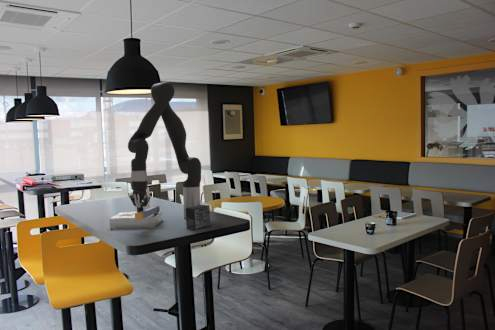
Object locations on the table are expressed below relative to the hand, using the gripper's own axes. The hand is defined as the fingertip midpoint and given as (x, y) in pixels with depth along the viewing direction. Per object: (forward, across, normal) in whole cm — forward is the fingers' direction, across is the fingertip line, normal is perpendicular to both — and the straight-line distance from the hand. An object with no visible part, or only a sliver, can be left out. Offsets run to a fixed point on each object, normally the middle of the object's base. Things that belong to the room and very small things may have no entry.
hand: (140, 215), depth 194 cm
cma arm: (+1, +2, +3) cm, 4 cm away
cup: (+7, -26, +24) cm, 37 cm away
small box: (+6, +25, +14) cm, 29 cm away
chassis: (+7, -10, +6) cm, 13 cm away
